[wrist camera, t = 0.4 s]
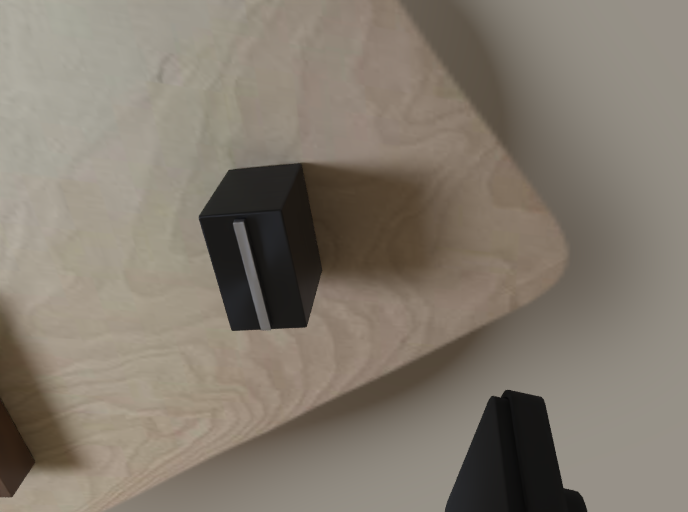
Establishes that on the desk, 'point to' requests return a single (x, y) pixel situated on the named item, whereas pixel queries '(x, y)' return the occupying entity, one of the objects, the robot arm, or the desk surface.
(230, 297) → the clip
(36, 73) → the desk surface
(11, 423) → the pencil tray
